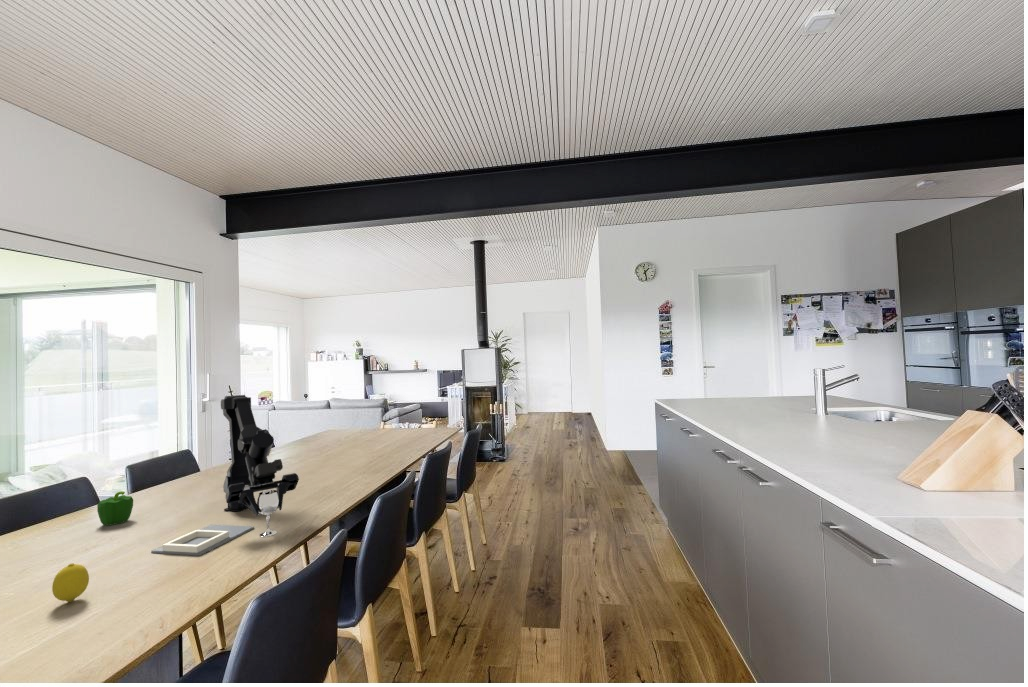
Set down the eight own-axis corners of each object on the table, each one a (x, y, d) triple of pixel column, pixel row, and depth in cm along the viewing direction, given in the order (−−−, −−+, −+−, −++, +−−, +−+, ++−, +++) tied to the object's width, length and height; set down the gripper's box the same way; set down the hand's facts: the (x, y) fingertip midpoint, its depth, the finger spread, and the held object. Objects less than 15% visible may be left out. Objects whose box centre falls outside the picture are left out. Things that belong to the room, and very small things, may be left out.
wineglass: (283, 531, 132) (283, 490, 133) (265, 538, 127) (265, 496, 127) (270, 529, 134) (270, 488, 135) (252, 536, 129) (252, 494, 130)
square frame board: (151, 552, 119) (151, 544, 119) (210, 526, 138) (210, 519, 138) (200, 555, 117) (200, 547, 117) (254, 528, 135) (254, 521, 135)
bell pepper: (91, 526, 141) (92, 494, 141) (122, 517, 148) (122, 487, 149) (107, 529, 138) (107, 496, 138) (138, 520, 145) (138, 489, 146)
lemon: (68, 596, 97) (68, 558, 98) (95, 594, 98) (96, 557, 98) (44, 610, 92) (44, 570, 92) (73, 608, 92) (73, 568, 93)
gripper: (227, 456, 128) (237, 504, 120) (296, 446, 141) (309, 489, 132) (221, 479, 133) (230, 526, 125) (288, 468, 146) (300, 510, 138)
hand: (269, 512), depth 130 cm, fingers closed on wineglass, 6 cm apart
